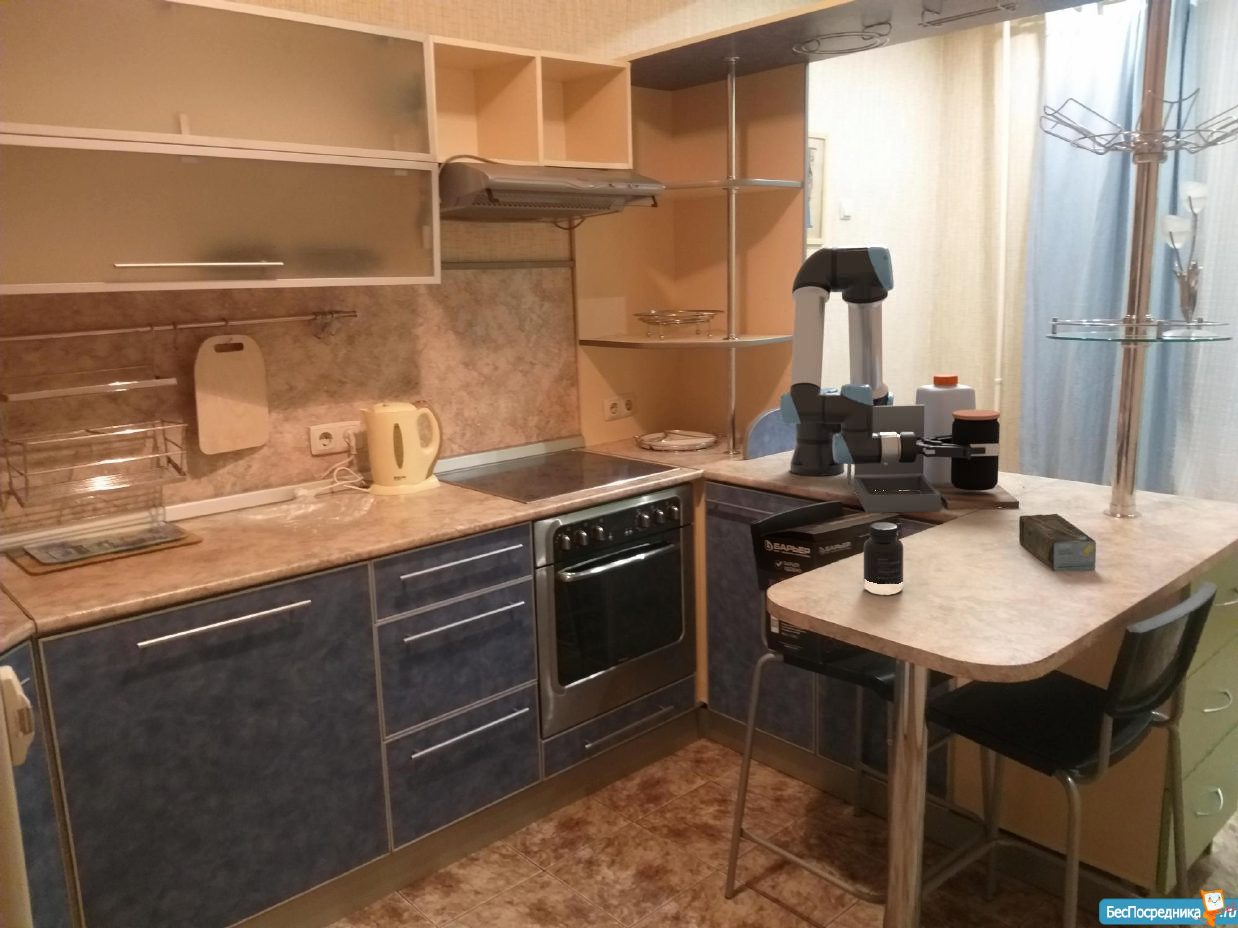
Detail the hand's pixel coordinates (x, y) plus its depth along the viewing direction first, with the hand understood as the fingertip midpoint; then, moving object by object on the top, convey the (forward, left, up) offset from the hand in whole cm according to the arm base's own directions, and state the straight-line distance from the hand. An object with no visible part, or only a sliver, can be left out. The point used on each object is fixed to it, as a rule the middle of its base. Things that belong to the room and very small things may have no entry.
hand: (992, 445), depth 224 cm
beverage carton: (+46, +8, -14) cm, 49 cm away
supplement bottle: (+71, -23, -13) cm, 76 cm away
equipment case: (+1, -23, -13) cm, 27 cm away
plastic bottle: (-20, -10, -13) cm, 26 cm away
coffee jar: (+1, -4, -10) cm, 11 cm away
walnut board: (+1, -4, -13) cm, 14 cm away
